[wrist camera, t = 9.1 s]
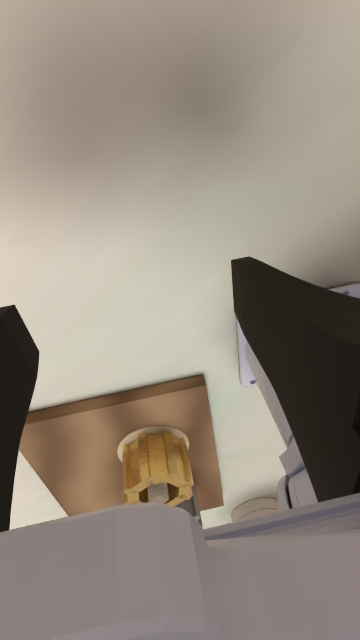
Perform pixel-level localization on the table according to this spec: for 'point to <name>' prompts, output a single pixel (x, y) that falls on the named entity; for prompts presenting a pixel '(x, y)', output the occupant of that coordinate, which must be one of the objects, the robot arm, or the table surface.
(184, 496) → the brass gear
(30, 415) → the board
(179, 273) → the table surface
